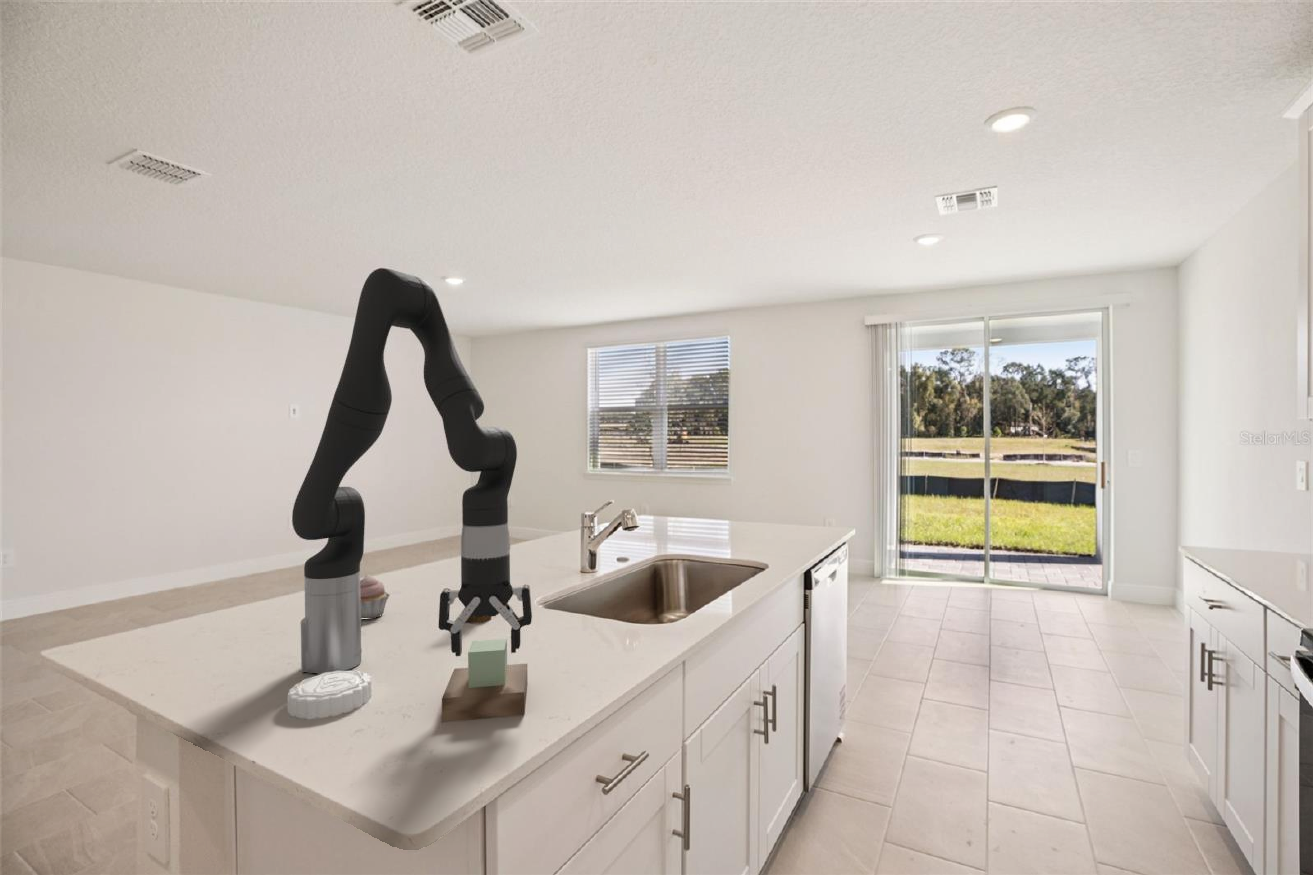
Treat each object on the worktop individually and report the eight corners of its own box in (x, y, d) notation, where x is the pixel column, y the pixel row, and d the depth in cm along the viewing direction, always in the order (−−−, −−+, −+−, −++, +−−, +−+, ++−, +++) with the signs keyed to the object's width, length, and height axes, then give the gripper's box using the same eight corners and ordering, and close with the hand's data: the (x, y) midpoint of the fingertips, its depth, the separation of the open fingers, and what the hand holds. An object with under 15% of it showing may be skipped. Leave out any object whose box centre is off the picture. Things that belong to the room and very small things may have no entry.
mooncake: (365, 714, 96) (365, 691, 96) (277, 725, 92) (277, 701, 92) (377, 684, 107) (376, 664, 107) (299, 693, 104) (298, 672, 104)
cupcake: (376, 608, 154) (375, 568, 154) (397, 614, 149) (396, 573, 149) (338, 618, 146) (338, 576, 146) (359, 624, 141) (359, 581, 141)
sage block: (468, 687, 96) (468, 652, 96) (472, 674, 101) (472, 640, 101) (504, 685, 97) (504, 649, 97) (507, 671, 102) (506, 638, 102)
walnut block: (442, 725, 92) (441, 698, 92) (454, 692, 104) (454, 668, 104) (524, 718, 94) (524, 692, 94) (527, 686, 106) (527, 663, 106)
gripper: (434, 558, 94) (435, 664, 94) (530, 554, 96) (531, 658, 96) (443, 549, 101) (444, 648, 101) (531, 546, 104) (532, 642, 104)
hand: (486, 653), depth 99 cm, fingers open, 8 cm apart
